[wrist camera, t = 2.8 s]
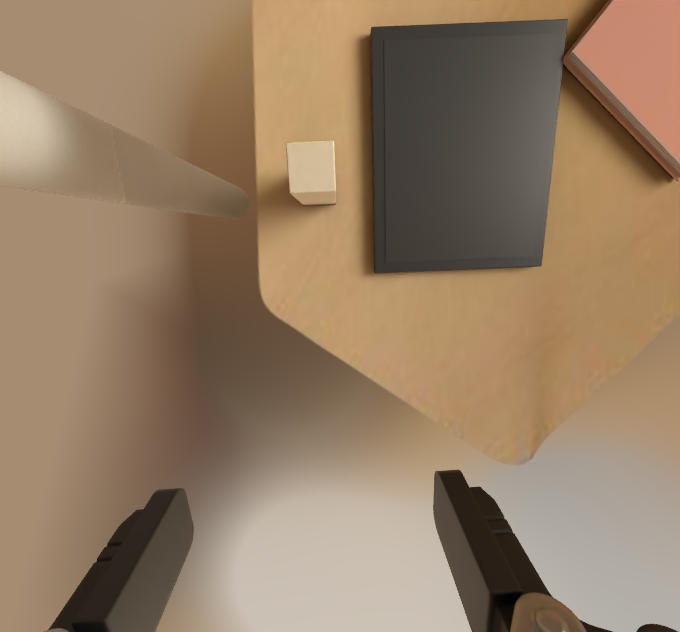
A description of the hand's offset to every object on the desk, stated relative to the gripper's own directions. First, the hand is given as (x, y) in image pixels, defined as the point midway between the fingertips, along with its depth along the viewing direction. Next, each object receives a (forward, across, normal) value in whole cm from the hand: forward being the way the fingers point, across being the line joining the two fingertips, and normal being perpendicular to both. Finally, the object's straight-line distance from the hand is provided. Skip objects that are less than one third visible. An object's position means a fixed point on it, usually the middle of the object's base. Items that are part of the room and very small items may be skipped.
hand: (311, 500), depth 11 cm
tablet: (+24, -13, -13) cm, 31 cm away
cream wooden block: (+24, 0, -11) cm, 27 cm away
